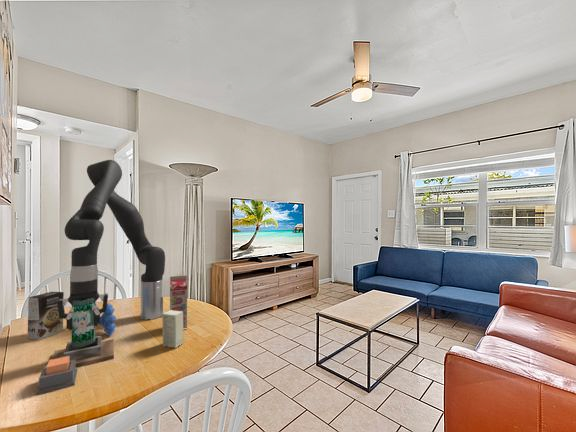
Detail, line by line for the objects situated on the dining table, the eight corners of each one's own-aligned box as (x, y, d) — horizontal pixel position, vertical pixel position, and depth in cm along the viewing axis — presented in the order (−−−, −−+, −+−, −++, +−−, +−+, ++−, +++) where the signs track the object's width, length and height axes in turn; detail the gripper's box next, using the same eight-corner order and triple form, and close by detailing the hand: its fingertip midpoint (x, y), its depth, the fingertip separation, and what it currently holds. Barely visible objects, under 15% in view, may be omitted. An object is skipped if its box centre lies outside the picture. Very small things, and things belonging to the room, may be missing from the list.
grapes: (92, 332, 112) (92, 303, 112) (111, 327, 117) (111, 299, 117) (99, 341, 104) (99, 309, 104) (119, 336, 109) (119, 305, 109)
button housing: (77, 371, 84) (77, 358, 84) (74, 385, 77) (74, 370, 77) (42, 379, 80) (42, 366, 80) (36, 394, 73) (36, 379, 73)
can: (69, 348, 89) (70, 302, 89) (75, 340, 95) (75, 296, 95) (91, 345, 91) (92, 299, 91) (96, 337, 97) (97, 295, 97)
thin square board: (113, 342, 103) (113, 331, 103) (113, 358, 92) (113, 346, 92) (54, 354, 94) (54, 342, 94) (46, 374, 82) (47, 360, 82)
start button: (69, 365, 82) (69, 355, 82) (67, 373, 78) (67, 362, 78) (49, 370, 79) (49, 360, 79) (46, 378, 75) (46, 367, 75)
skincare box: (183, 343, 103) (184, 311, 103) (175, 349, 99) (175, 315, 99) (170, 341, 105) (170, 309, 105) (161, 346, 101) (161, 313, 101)
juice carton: (169, 325, 120) (170, 275, 120) (185, 323, 122) (186, 274, 122) (169, 331, 114) (170, 278, 114) (186, 329, 116) (187, 277, 116)
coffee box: (40, 340, 105) (40, 298, 105) (26, 338, 106) (27, 297, 106) (64, 330, 113) (64, 291, 113) (51, 329, 115) (51, 290, 115)
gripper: (109, 274, 100) (109, 319, 100) (58, 278, 92) (58, 328, 92) (109, 278, 94) (108, 326, 94) (54, 283, 86) (54, 336, 86)
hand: (83, 327), depth 93 cm, fingers closed on can, 6 cm apart
